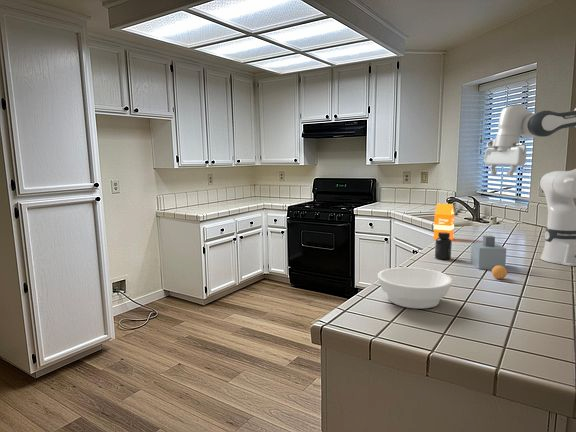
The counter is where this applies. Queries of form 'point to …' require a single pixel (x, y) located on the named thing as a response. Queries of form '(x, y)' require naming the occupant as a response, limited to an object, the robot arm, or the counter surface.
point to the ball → (499, 272)
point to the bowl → (414, 286)
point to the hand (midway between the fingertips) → (501, 175)
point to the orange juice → (444, 220)
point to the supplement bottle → (443, 246)
